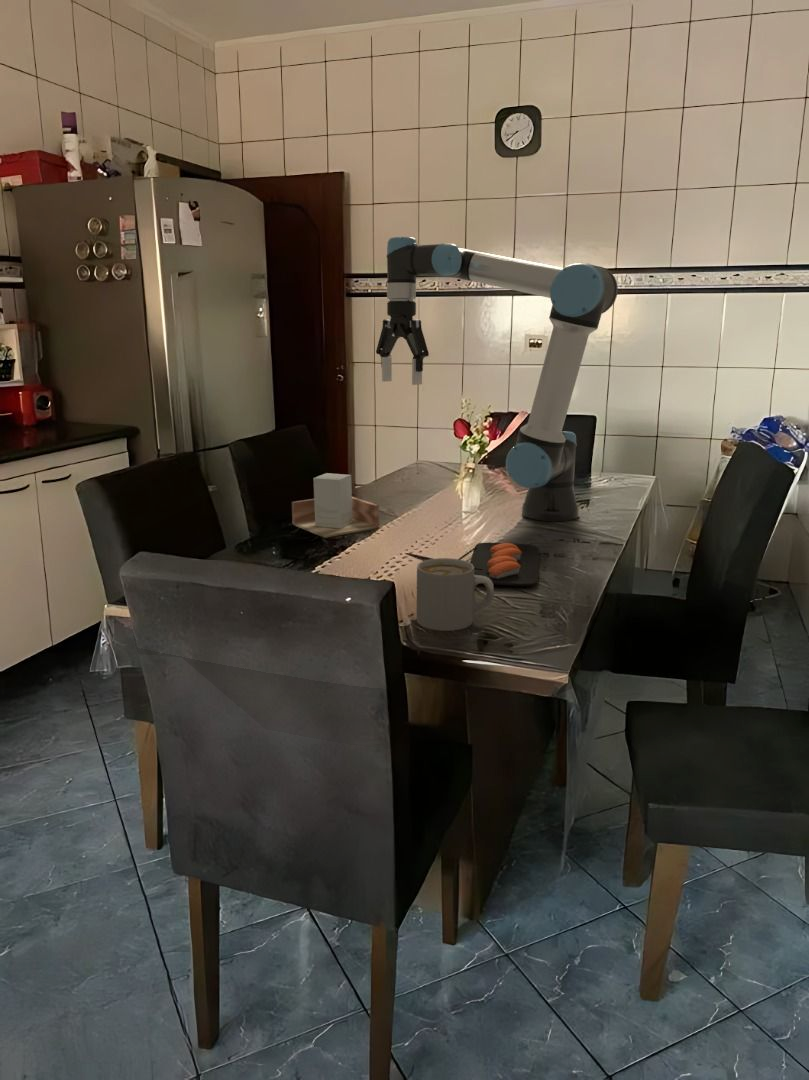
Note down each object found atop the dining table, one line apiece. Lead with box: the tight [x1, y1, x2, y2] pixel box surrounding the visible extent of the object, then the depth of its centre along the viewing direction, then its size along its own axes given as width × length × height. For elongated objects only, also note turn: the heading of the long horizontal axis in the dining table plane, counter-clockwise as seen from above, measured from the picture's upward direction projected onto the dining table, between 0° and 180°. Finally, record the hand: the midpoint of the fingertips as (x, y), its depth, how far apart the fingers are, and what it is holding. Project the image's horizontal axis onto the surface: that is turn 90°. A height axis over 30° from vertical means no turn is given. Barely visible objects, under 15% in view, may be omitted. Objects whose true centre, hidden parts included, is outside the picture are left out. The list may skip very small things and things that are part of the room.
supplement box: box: [312, 472, 353, 529], centre depth 203 cm, size 7×7×13 cm
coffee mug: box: [416, 557, 495, 632], centre depth 140 cm, size 13×10×10 cm
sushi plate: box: [404, 542, 540, 587], centre depth 173 cm, size 29×30×4 cm
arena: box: [291, 496, 380, 539], centre depth 205 cm, size 16×16×6 cm
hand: (401, 383), depth 215 cm, fingers open, 13 cm apart
